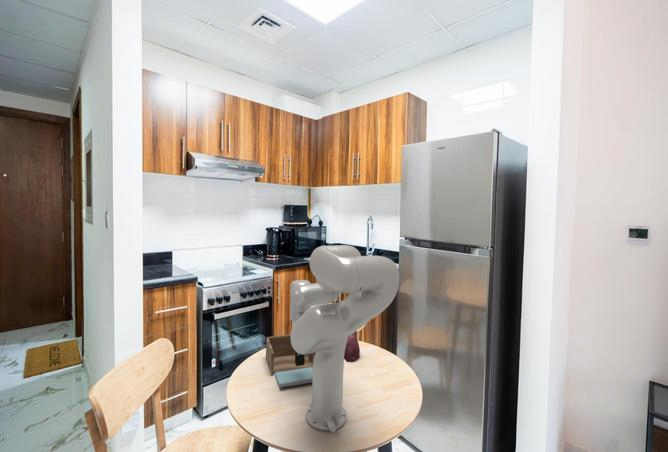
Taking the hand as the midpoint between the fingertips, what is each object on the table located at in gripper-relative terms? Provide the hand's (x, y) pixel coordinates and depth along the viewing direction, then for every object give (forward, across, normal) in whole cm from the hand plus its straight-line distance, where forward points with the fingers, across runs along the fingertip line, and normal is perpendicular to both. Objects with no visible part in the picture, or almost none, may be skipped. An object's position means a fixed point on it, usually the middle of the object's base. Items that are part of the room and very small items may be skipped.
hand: (299, 364), depth 111 cm
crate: (+7, +15, 0) cm, 16 cm away
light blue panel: (+6, +7, 0) cm, 9 cm away
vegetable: (+8, +16, -26) cm, 31 cm away
